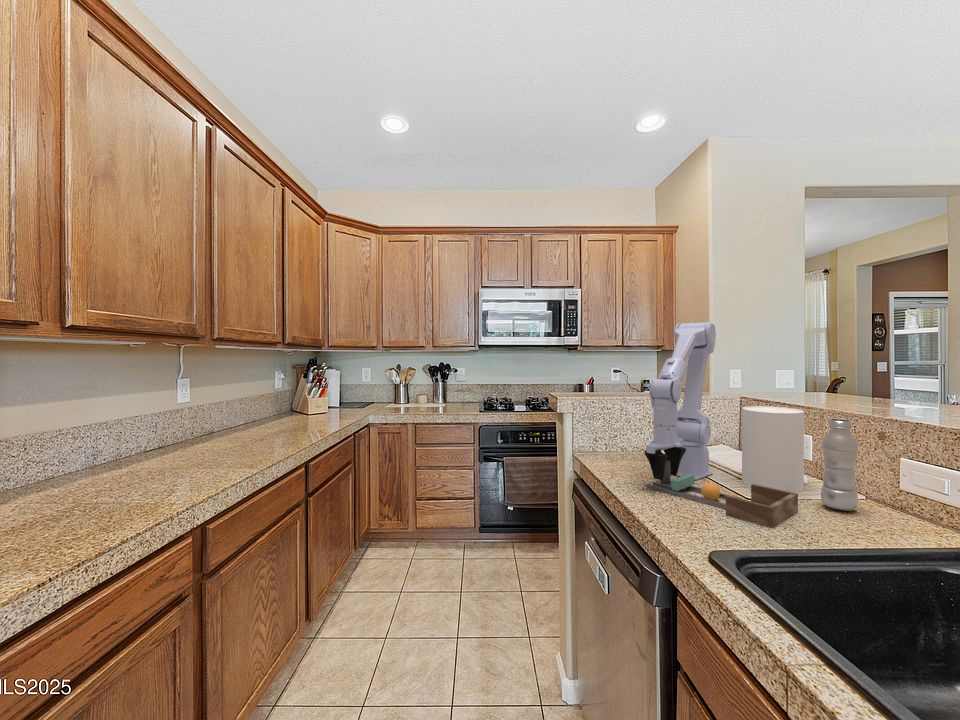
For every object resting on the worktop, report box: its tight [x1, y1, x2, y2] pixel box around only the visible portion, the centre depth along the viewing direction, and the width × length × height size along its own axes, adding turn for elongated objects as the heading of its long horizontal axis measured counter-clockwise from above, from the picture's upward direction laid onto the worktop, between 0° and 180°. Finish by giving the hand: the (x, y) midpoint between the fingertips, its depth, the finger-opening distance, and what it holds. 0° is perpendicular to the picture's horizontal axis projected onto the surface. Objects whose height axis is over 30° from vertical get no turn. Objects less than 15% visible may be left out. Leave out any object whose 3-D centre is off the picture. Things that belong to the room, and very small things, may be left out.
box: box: [725, 484, 799, 528], centre depth 95 cm, size 14×9×4 cm, turn 127°
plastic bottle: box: [820, 418, 859, 512], centre depth 96 cm, size 6×7×20 cm
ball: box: [700, 482, 721, 501], centre depth 103 cm, size 4×4×4 cm
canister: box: [741, 405, 805, 494], centre depth 114 cm, size 14×14×20 cm
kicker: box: [652, 460, 695, 491], centre depth 111 cm, size 8×8×7 cm
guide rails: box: [646, 483, 743, 510], centre depth 107 cm, size 7×20×1 cm, turn 37°
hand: (665, 476), depth 113 cm, fingers open, 6 cm apart
